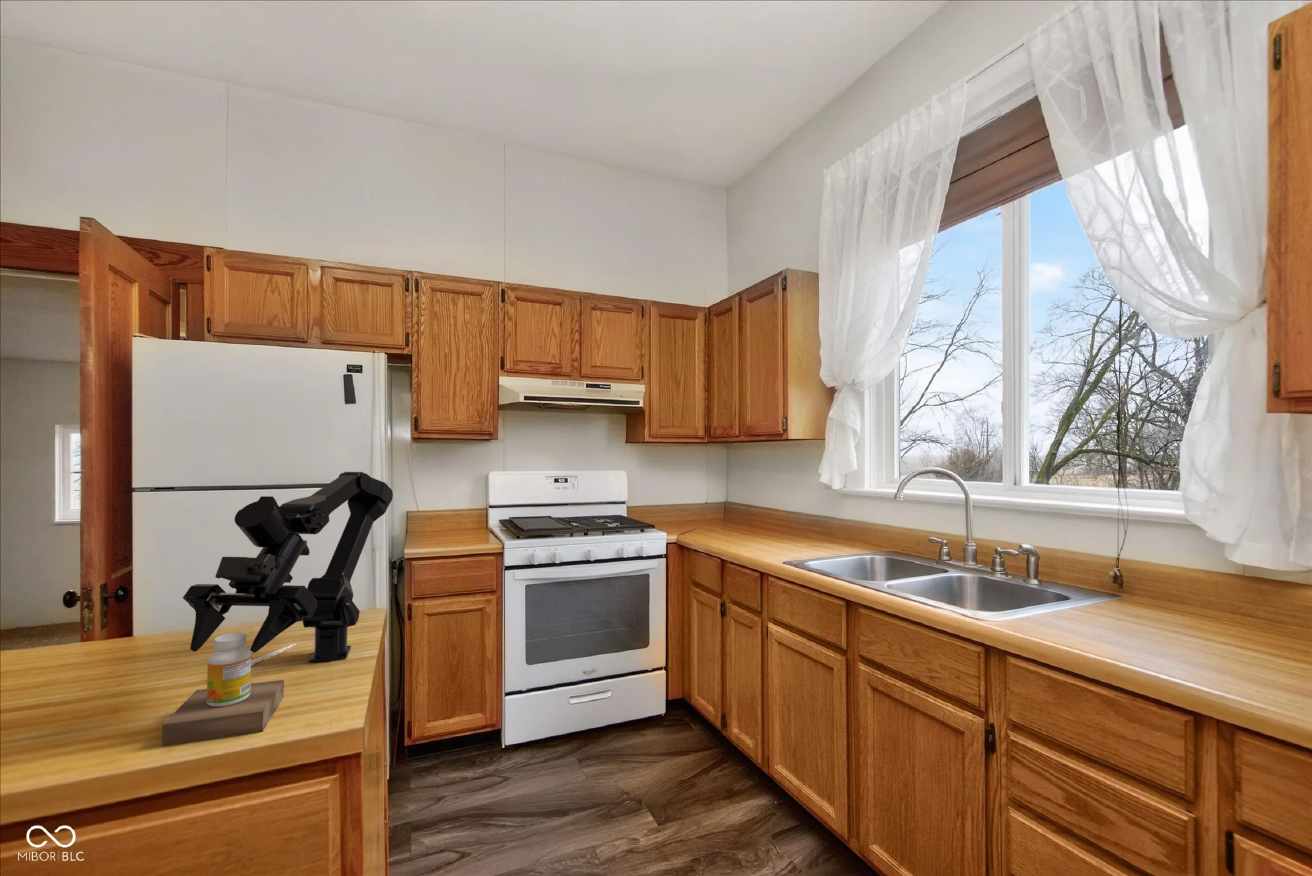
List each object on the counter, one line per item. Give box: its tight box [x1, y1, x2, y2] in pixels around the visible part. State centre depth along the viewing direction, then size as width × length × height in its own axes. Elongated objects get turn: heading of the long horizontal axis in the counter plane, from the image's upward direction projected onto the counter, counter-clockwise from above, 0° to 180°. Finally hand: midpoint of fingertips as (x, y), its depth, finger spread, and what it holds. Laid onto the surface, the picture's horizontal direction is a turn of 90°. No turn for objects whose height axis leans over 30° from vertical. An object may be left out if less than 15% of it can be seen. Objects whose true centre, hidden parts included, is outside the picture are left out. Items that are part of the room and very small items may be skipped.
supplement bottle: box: [206, 632, 252, 707], centre depth 87 cm, size 5×5×10 cm
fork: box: [251, 643, 297, 666], centre depth 110 cm, size 3×20×2 cm, turn 176°
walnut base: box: [161, 679, 285, 747], centre depth 87 cm, size 12×12×3 cm
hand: (222, 650), depth 86 cm, fingers open, 9 cm apart
